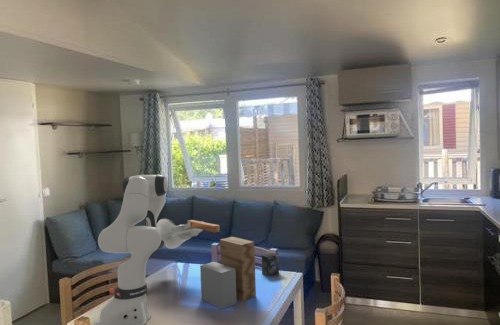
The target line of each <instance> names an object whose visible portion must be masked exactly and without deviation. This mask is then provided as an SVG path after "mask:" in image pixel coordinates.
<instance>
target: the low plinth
mask: <svg viewBox="0 0 500 325" xmlns="http://www.w3.org/2000/svg"><path fill="white" fill-rule="evenodd" d="M199 267H200V269H199V270H200V293H201V294H200V295H201V296H200V297H201V300H202V301H203V302H206V303H209V304H211V305H214V306H215V307H218V308H220V309H221V310H223V309H226V308H229V307H232V306H233V305H237V298H236V271H235V268H232V267H229V266H226V265H223V264H221V262H220V263H219V262H216V261H211V262H208V263H207V262H206V263H204V264H200V266H199Z"/></svg>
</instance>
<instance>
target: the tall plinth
mask: <svg viewBox="0 0 500 325" xmlns="http://www.w3.org/2000/svg"><path fill="white" fill-rule="evenodd" d="M255 252H256V251H255V241H253V240H248V239H244V238H241V237H236V236H229V237H226V238H221V239H219V253H220V254H219V256H220V257H219V258H220V264H223V265H226V266H229V267H232V268H235V271H236V300H240V301H242V302H244V301H247V300H249V299H253V298H254V297H256V296H257V290H256V289H257V288H256V286H257V285H256V283H257V282H256V257H255V256H256V255H255V254H256V253H255Z"/></svg>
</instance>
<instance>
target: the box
mask: <svg viewBox="0 0 500 325" xmlns="http://www.w3.org/2000/svg"><path fill="white" fill-rule="evenodd" d="M279 256H280V255H279V254H277V253H274V252H271V253H266V254H262V255H261V274H262V275H264V274H265V276H266V275H267V277H268V276H273V275H277V273H278V274H280V271H279V270H280V268H279V266H280V264H279V261H280V260H279V258H280V257H279Z"/></svg>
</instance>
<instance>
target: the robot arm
mask: <svg viewBox="0 0 500 325" xmlns="http://www.w3.org/2000/svg"><path fill="white" fill-rule="evenodd" d="M168 183H169V182H168V179H167V178H166V177H165V175H162V174H138V175H133V176H132V175H129V176H126V177H124V178H123V179H121V184H120V188H121V193H122V195H123V197H122V198H123V199H122V203H121V204H122V205H121V208H120V210H119V214H118V215H117V217H116V218H115V220H114V221H113V222H112V223H111V224H110V225H108V226H107V227H105V228H103V229H102V230H101V231H100V233H99V235H98V238H97V244H98V248H99V250H100V251H102V253H103V252H104V253H108V254H131V255H130V258H129V259H127V260H126V261H124V262H122V263H121V264H120V265H119V266H118V268H117V287H116V288H113V287H111V288H110V289H109V293H110V294H112V295H113V297H112V298H111V299H110V300H109V302H107V304H105V305H104V306H103V307H102V309H101V310H100V313H99V319H97V320H95V321H94V325H146V324H147V322H148V321H149V320H150V318H151V317H152V314H151V311H150V309H149V304H148V303H149V302H148V298H147V295H148V285H147V282H146V268H147V267H146V266H147V263H148V260H149V258H150V257H151V255H152V254H153V253H154V252H155V251H157V250H161V249H162V248H163V247H165V248H167V249H170V250H171V249H172V250H174V249H176V248H178V247H180V246H181V245H182V244H183V243H184V242H186V241H189V240H190V239H191V238H195V237H197V236H198V235H199V234H200V233H201V232H203V230H202V229H197V228H193V227H190V226H192V223H191V222H190V223H188V224H187V223H185V224H179V225H176V224H175V222H174V221H172V220H171V219H168V218H161V219H159V220H158V218H159V216H160V213H161V211H162V210H163V208H164V207H165V204H166V193H167V192H168V188H169V184H168ZM157 220H158V221H157ZM140 222H144V225H137V224H138V223H139V224H140ZM201 222H204V220H203V221H201Z"/></svg>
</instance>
